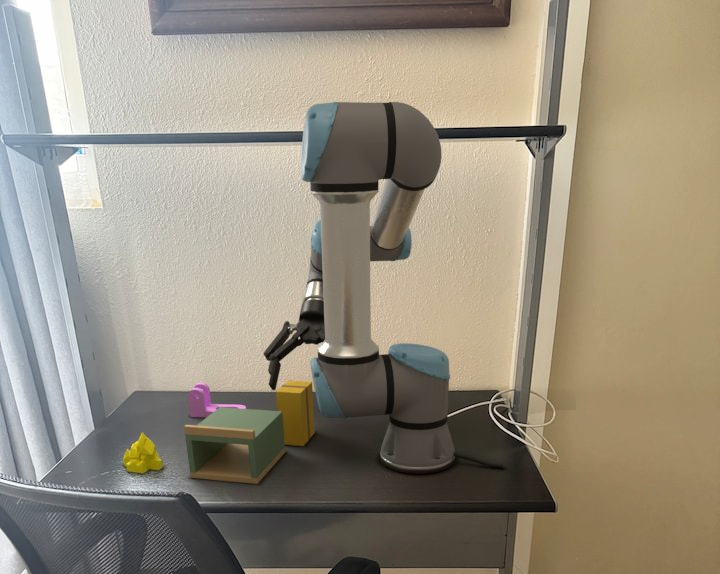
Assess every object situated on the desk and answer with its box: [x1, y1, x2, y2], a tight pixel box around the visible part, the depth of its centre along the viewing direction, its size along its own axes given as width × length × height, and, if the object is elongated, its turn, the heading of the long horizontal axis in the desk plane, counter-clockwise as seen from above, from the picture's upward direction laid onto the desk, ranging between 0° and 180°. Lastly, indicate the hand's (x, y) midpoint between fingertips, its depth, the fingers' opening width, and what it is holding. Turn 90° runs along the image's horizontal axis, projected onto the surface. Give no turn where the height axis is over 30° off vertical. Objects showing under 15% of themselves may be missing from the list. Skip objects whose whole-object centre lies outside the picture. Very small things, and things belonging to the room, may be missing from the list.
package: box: [275, 380, 316, 447], centre depth 153 cm, size 6×8×12 cm
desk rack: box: [183, 407, 286, 485], centre depth 141 cm, size 14×16×11 cm
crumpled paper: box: [122, 431, 164, 474], centre depth 141 cm, size 6×8×8 cm
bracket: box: [187, 382, 247, 418], centre depth 170 cm, size 13×6×7 cm, turn 85°
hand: (300, 389), depth 155 cm, fingers open, 13 cm apart
